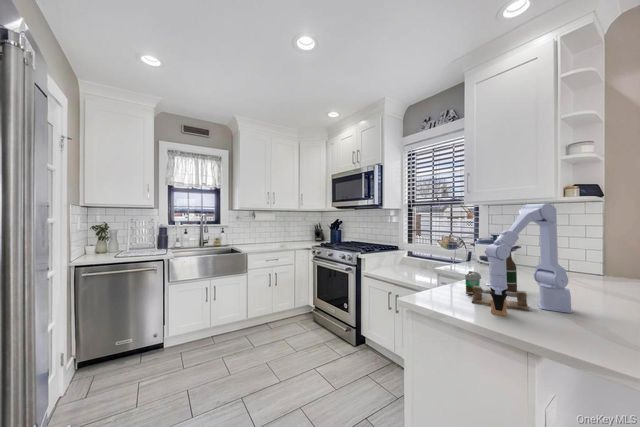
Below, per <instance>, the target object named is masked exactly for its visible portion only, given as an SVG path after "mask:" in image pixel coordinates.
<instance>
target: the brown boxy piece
mask: <svg viewBox="0 0 640 427" xmlns="http://www.w3.org/2000/svg"><path fill="white" fill-rule="evenodd" d="M490 291H491V289H489V288H482V286H480V285H479V286H473V296H472V299H471V303H472V302H473V303H472V304H477V303H480V304H479V305H483V304H485V305H484V306H486V305H487V306H490V307H491V297H485V296H482V294H486V295H487V294H488V295H490ZM505 294H507V297H511V298H516V301H514V300H508V299H506V303H507V309H511V310H518V311H519V310H520V311H523V312H524V311H525V312H529V311H530V307H529V305H528V301H527V299H528V298H527V291H523V290H517V292H508V291H506V293H505Z"/></svg>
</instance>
